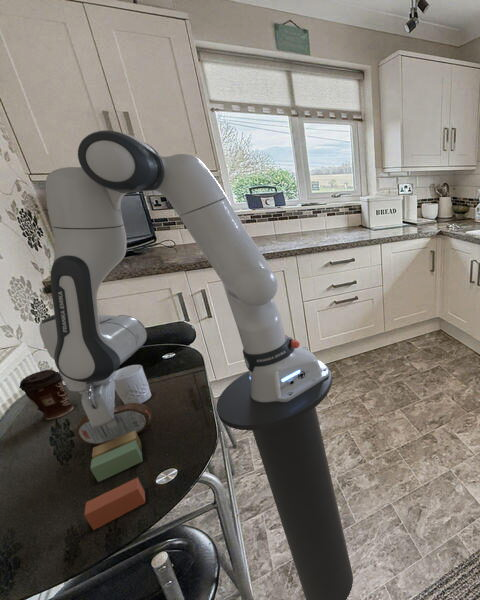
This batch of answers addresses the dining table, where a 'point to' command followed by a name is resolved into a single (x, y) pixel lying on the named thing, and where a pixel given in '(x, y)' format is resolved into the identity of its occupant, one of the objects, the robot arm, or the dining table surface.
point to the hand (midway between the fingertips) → (113, 420)
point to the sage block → (116, 461)
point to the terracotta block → (114, 503)
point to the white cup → (132, 384)
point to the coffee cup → (47, 393)
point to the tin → (127, 421)
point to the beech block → (116, 444)
